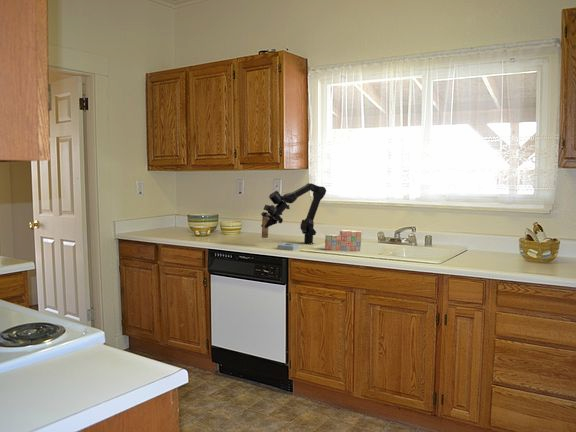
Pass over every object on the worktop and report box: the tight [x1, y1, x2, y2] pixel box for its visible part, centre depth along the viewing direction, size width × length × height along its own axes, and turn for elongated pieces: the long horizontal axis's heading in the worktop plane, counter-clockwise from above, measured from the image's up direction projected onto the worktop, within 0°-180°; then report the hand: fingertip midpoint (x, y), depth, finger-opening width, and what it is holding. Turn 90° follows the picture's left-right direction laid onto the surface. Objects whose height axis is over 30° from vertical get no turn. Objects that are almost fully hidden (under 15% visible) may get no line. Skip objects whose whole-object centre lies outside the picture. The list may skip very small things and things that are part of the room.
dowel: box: [261, 216, 269, 239], centre depth 325 cm, size 4×4×13 cm
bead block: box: [277, 242, 300, 251], centre depth 317 cm, size 10×10×2 cm
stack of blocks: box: [324, 229, 362, 252], centre depth 321 cm, size 21×6×12 cm, turn 93°
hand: (263, 227), depth 324 cm, fingers closed on dowel, 4 cm apart
